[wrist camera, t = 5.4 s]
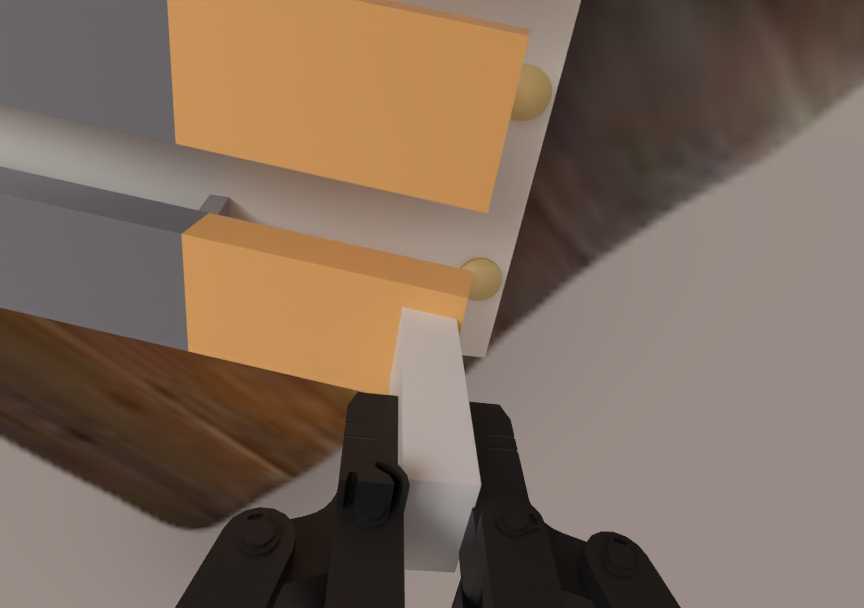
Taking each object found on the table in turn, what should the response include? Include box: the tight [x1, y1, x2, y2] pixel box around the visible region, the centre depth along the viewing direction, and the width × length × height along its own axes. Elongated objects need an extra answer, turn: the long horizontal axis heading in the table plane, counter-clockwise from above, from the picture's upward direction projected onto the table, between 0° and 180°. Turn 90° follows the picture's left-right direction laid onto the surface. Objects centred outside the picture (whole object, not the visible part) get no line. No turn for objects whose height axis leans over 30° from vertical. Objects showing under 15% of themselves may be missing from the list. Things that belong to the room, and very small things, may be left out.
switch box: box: [0, 0, 581, 358], centre depth 18 cm, size 20×20×8 cm
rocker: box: [0, 167, 474, 395], centre depth 18 cm, size 16×4×2 cm, turn 80°
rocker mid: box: [0, 0, 531, 213], centre depth 14 cm, size 16×4×2 cm, turn 80°
